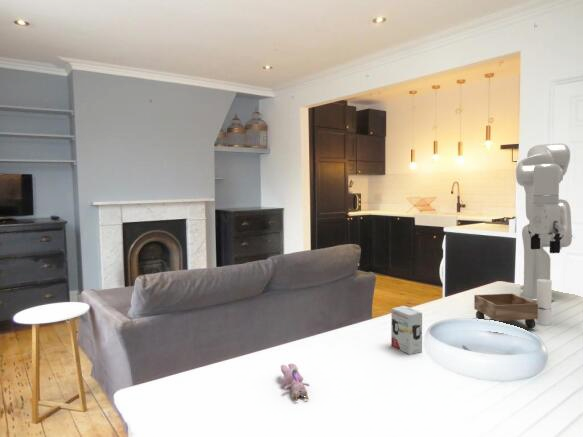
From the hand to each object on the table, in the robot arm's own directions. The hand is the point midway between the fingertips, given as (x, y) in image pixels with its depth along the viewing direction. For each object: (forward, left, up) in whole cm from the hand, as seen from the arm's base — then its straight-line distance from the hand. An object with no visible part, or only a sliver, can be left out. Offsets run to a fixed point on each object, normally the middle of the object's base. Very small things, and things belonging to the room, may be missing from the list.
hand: (544, 251), depth 143 cm
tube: (0, 0, -25) cm, 25 cm away
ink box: (+16, -54, -25) cm, 62 cm away
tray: (0, -14, -25) cm, 29 cm away
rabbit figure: (+36, -89, -26) cm, 99 cm away
